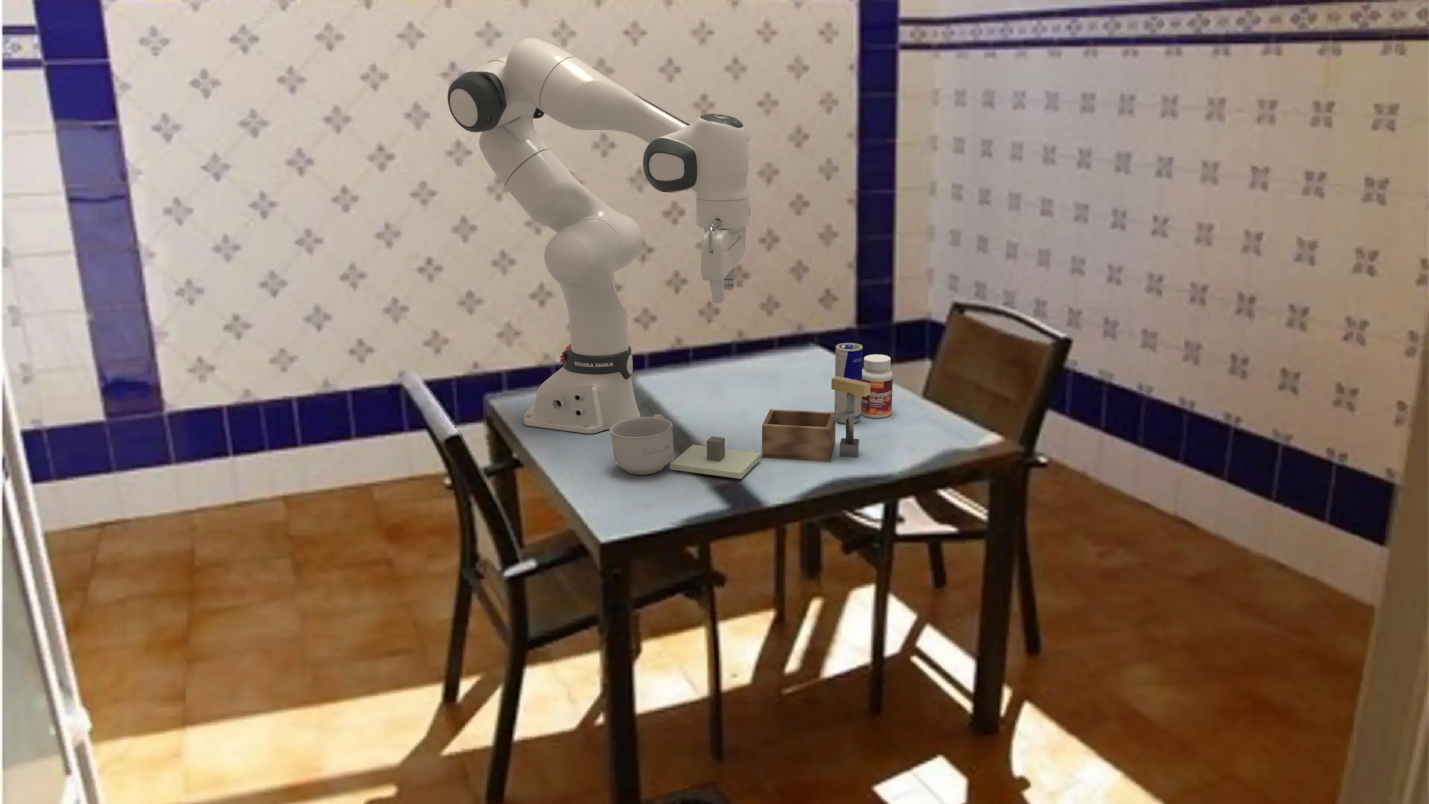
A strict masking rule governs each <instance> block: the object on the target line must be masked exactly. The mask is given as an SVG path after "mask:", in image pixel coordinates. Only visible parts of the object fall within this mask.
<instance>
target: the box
mask: <svg viewBox="0 0 1429 804" xmlns="http://www.w3.org/2000/svg"><path fill="white" fill-rule="evenodd" d="M835 414H836V412H834V411H831V412H830V411H816V410H815V411H812V410H796V409H794V410H793V409H791V410H789V409H775V408H774V409H773V408H771V409H769V410H768V412H767V415H766V416H765V419H764V420H763V423H762V425H761V458H765V459H767V458H768V459H784V460H785V459H786V460H798V461H799V460H800V461H802V460H803V461H820V462H830V461H831V459H832V455H833V452H834V449H835V446H836V427H837V426H836V425H837V421H833V420H831V416H833V415H835Z"/></svg>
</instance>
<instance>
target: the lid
mask: <svg viewBox="0 0 1429 804" xmlns="http://www.w3.org/2000/svg"><path fill="white" fill-rule="evenodd" d="M761 459H762V452H756V451H755V452H754V451H745V450H739V449H730V448H726V439H725V437H722V436H721V437H719V436H711V437H709V438H708V439H707V440H706V445H700V444H691V446H689V447H688V448H687V449H686V450H685V451H684V452H682V453H681V454H679V456H678V457H676V458H675V459H674V460H673V461H671V462H669V470H674V471H682V472H687V473H688V472H689V473H694V474H695V473H696V474H703V475H711V476H718V477H725V478H731V479H732V478H733V479H742V478H744V477H745V475H746V474H747V473H749V471H750V470H751V469H752V468H753V467H755V465H756V464H757V463H758V462H760V460H761Z"/></svg>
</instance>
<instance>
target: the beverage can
mask: <svg viewBox="0 0 1429 804" xmlns="http://www.w3.org/2000/svg"><path fill="white" fill-rule="evenodd" d="M863 351H864V350H863V345H862V344H860V343H853V342H844V343H843V342H842V343H838V344H837V345H835V355H834V356H835V358H834V362H835V363H834V365H835V366H834V377H836V376H840V377H844V378H849V379H853V380H858V381H862V371H863V361H864V358H863V355H864V352H863ZM861 400H862V396H858V395H855V402H854V412H855V415H854V424H855V423H857V422H859V420H860V419H861V417H862V414H861ZM846 401H847V393H845V392H841V391H837V390H834V410H833V412H836V414H837V413H840V412H842V411H844V410H846ZM839 423H841V424H843V425H844V424H845V425H846V420H843V421H841V422H839Z"/></svg>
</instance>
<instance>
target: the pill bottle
mask: <svg viewBox="0 0 1429 804" xmlns="http://www.w3.org/2000/svg"><path fill="white" fill-rule="evenodd" d="M891 360H892V359H891V357H890V356H888V355H886V354H869V355H866V356H864V358H863V368H864V369H862V382H867V383H871V387H870V395H868V396H865V397H863V396H862V400H861V416H864V417H867V418H870V419H881V418H882V419H883V418H886V417H889V416H890V415H891V414H892V408H893V380H894V377H893V376H894V375H893V372H892V370H890V368H891V366H892V365H891Z"/></svg>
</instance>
